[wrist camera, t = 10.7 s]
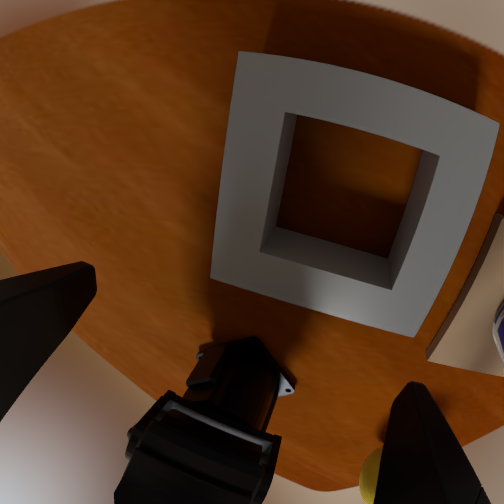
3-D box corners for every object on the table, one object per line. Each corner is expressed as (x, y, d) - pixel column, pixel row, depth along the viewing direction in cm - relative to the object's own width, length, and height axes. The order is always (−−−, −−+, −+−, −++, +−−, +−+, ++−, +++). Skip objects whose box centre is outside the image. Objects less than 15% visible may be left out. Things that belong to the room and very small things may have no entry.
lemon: (357, 451, 27) (345, 516, 21) (375, 425, 25) (367, 500, 18) (403, 456, 26) (397, 520, 19) (426, 431, 23) (425, 503, 17)
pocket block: (473, 118, 13) (499, 123, 10) (408, 302, 19) (413, 337, 16) (260, 59, 15) (239, 51, 12) (231, 250, 21) (209, 278, 18)
